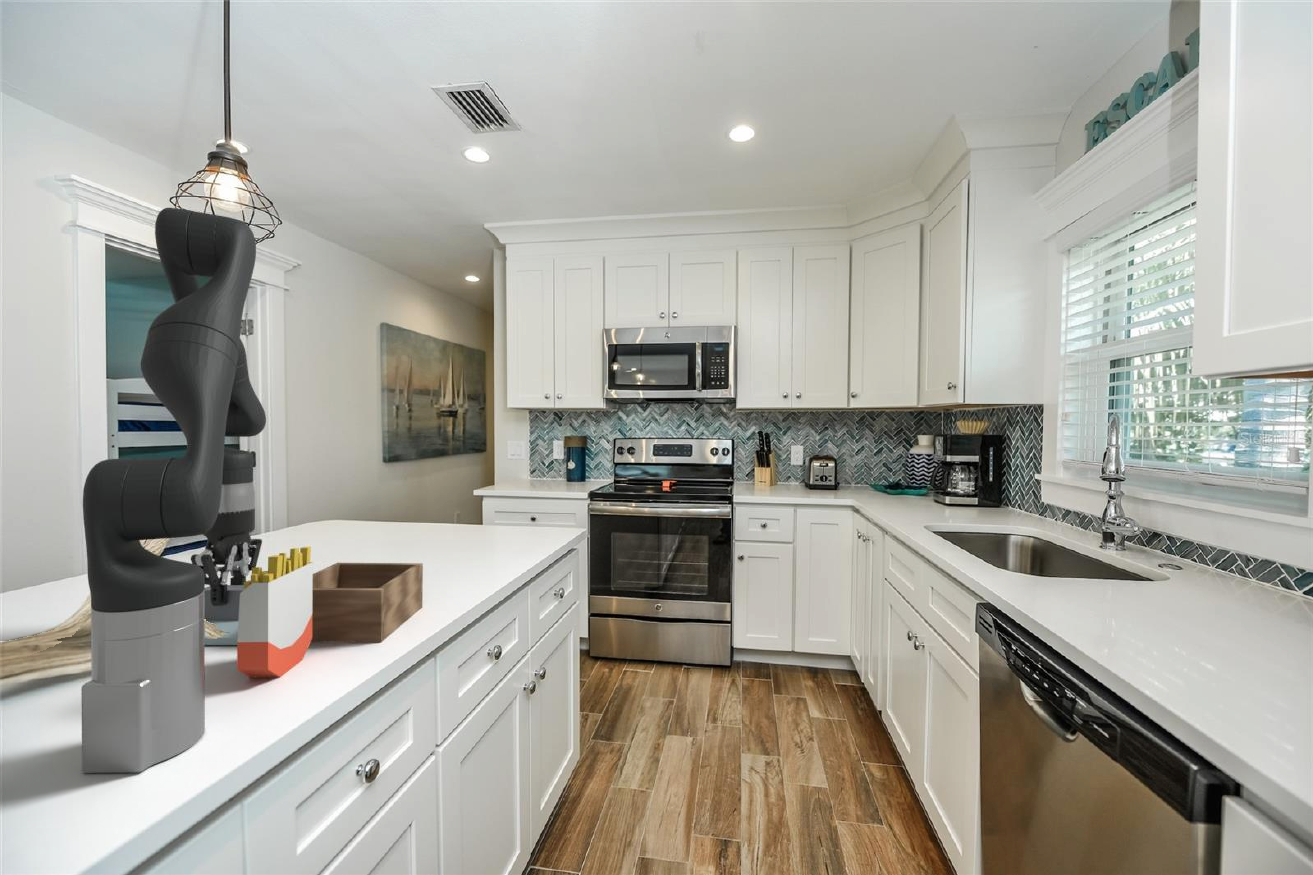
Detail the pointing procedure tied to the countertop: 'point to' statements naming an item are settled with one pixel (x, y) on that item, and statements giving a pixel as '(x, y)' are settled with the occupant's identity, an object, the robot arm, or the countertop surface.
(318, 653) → the countertop surface
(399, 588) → the wooden box
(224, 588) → the robot arm
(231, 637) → the lid
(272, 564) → the french fries container
